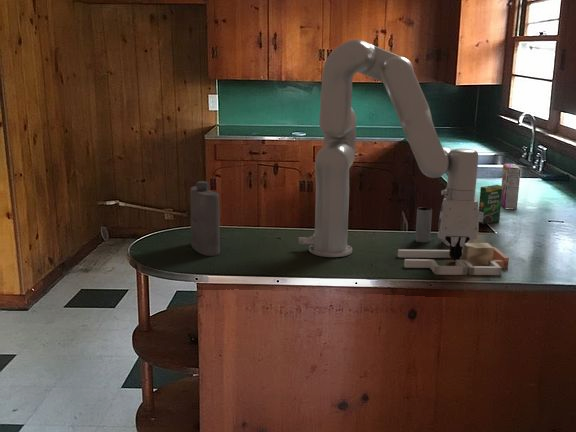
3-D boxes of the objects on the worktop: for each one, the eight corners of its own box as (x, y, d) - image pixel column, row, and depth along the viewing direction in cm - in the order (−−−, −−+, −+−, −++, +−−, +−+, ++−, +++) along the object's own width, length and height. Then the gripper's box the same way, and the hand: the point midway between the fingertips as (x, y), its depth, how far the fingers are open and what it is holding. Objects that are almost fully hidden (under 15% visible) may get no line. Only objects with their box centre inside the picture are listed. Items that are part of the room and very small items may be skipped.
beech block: (466, 265, 170) (468, 247, 169) (461, 259, 175) (463, 242, 173) (492, 265, 170) (493, 248, 169) (486, 260, 175) (487, 243, 174)
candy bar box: (498, 203, 251) (502, 163, 247) (511, 203, 250) (515, 163, 246) (503, 209, 240) (507, 167, 236) (517, 209, 239) (521, 168, 235)
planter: (417, 238, 197) (420, 206, 194) (431, 240, 194) (434, 208, 192) (413, 241, 193) (415, 209, 190) (427, 243, 190) (429, 210, 188)
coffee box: (482, 224, 216) (486, 187, 213) (476, 222, 218) (480, 186, 215) (499, 222, 219) (503, 185, 216) (493, 220, 222) (497, 184, 219)
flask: (186, 243, 186) (185, 178, 181) (205, 241, 188) (204, 177, 184) (202, 257, 173) (201, 187, 168) (222, 255, 175) (221, 185, 171)
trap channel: (409, 274, 161) (410, 263, 161) (397, 256, 177) (398, 246, 176) (515, 275, 162) (516, 264, 161) (494, 257, 178) (495, 247, 177)
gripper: (436, 197, 164) (431, 263, 168) (492, 197, 164) (486, 263, 168) (429, 191, 171) (425, 254, 176) (483, 192, 172) (477, 255, 176)
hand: (455, 259), depth 172 cm, fingers closed
